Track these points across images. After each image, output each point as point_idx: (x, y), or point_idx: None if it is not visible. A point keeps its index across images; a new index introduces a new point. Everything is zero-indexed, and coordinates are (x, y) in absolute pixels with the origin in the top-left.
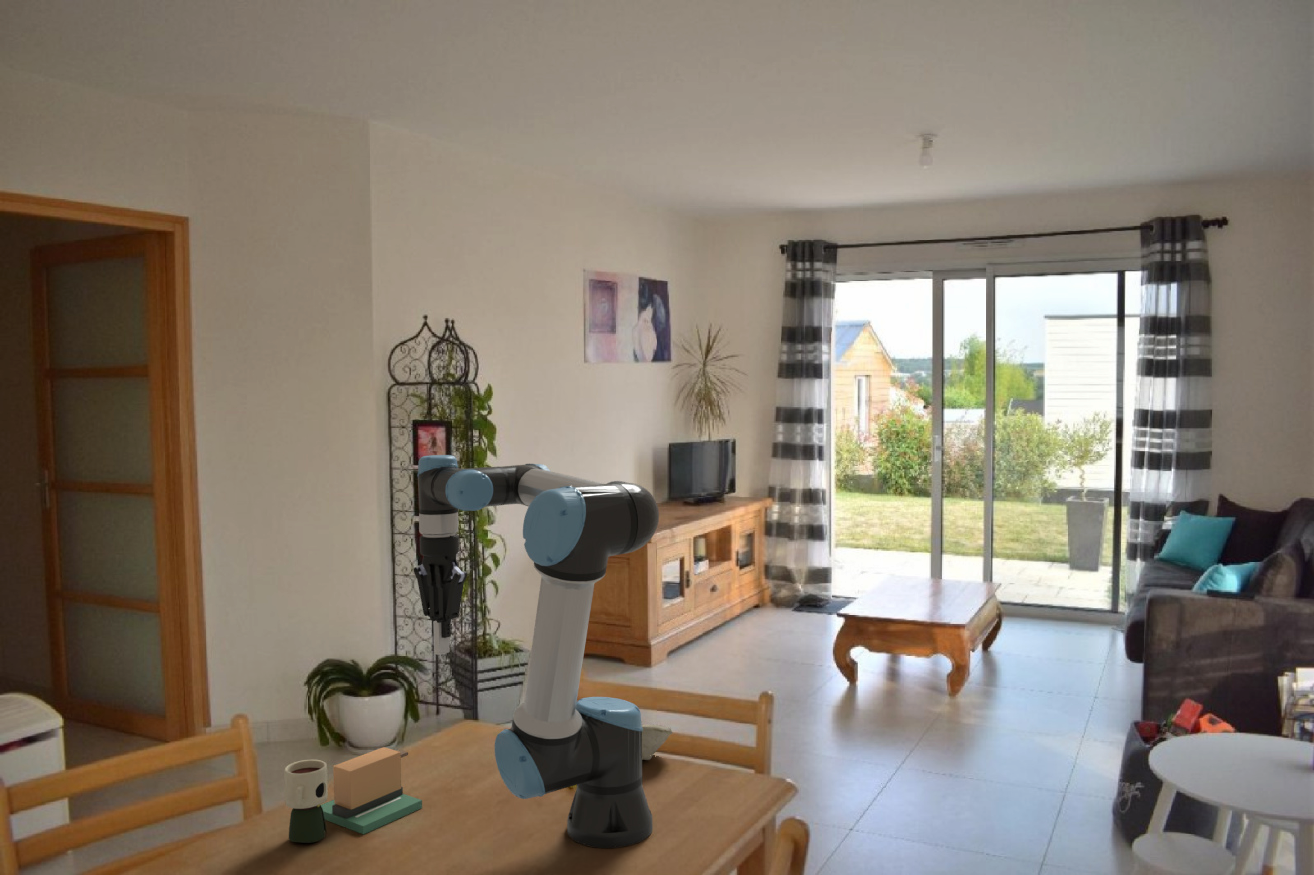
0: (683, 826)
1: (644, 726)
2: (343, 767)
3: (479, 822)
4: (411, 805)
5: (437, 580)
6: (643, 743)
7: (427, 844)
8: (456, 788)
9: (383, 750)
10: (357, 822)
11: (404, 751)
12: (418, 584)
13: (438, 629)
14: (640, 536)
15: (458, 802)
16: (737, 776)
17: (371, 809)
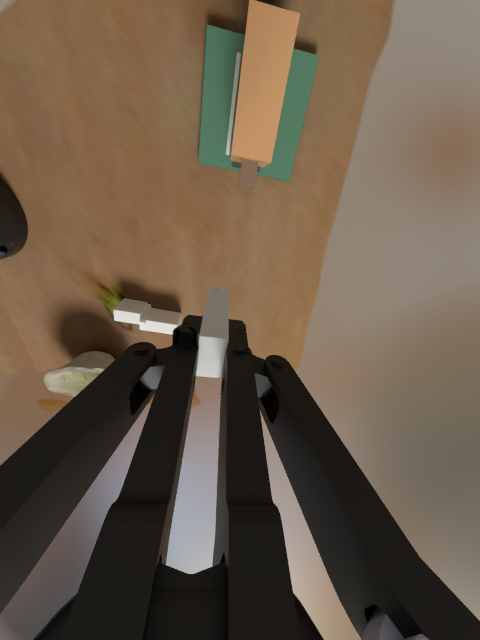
0: None
1: (46, 374)
2: (275, 15)
3: (108, 157)
4: (200, 141)
5: (126, 591)
6: (66, 364)
7: (106, 49)
8: (203, 234)
9: (261, 147)
10: (224, 34)
11: (244, 185)
12: (381, 504)
13: (203, 321)
14: None
15: (173, 200)
16: (5, 365)
17: (236, 93)
